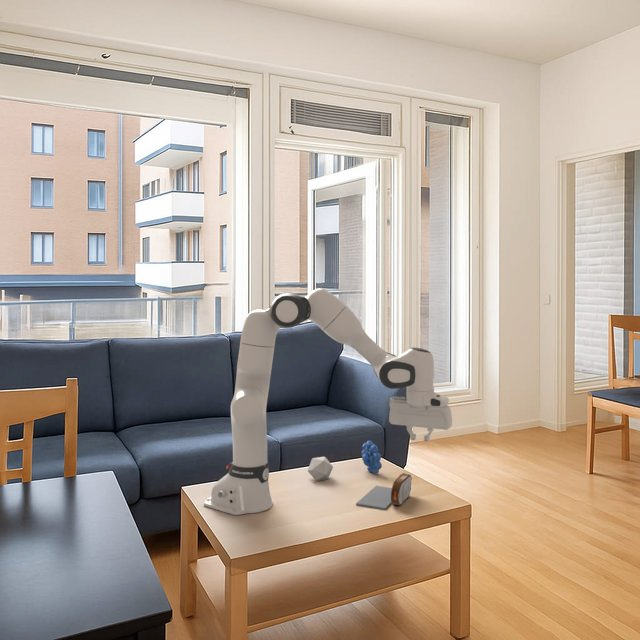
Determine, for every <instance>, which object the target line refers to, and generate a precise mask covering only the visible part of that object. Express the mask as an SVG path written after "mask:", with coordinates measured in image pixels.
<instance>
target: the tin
mask: <svg viewBox="0 0 640 640" xmlns="http://www.w3.org/2000/svg"><path fill="white" fill-rule="evenodd" d="M412 479H413V477H412V475H411V474H410V473H405V472H402V473H401V474H400V475H399V476H397V477H396V478H395V480H394V481H393V484H392V486H391V488H392V491H391V503H392V504H391V505H395V506H402V505H403V504H404V503H405V501H406V500H407V499H409V496H410V494H411V490H412Z"/></svg>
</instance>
